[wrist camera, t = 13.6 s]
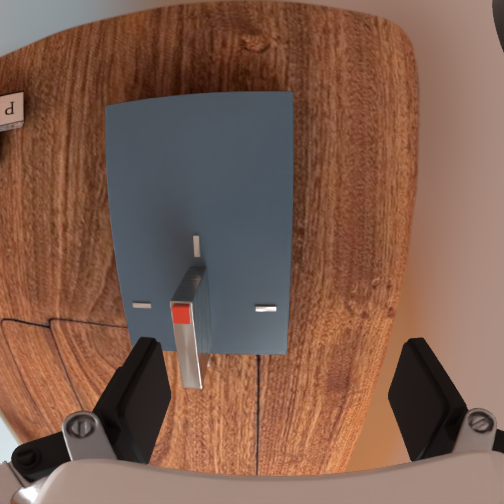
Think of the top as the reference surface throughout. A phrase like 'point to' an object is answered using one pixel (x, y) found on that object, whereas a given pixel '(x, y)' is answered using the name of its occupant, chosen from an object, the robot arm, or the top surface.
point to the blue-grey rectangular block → (204, 212)
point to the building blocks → (11, 110)
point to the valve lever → (192, 326)
